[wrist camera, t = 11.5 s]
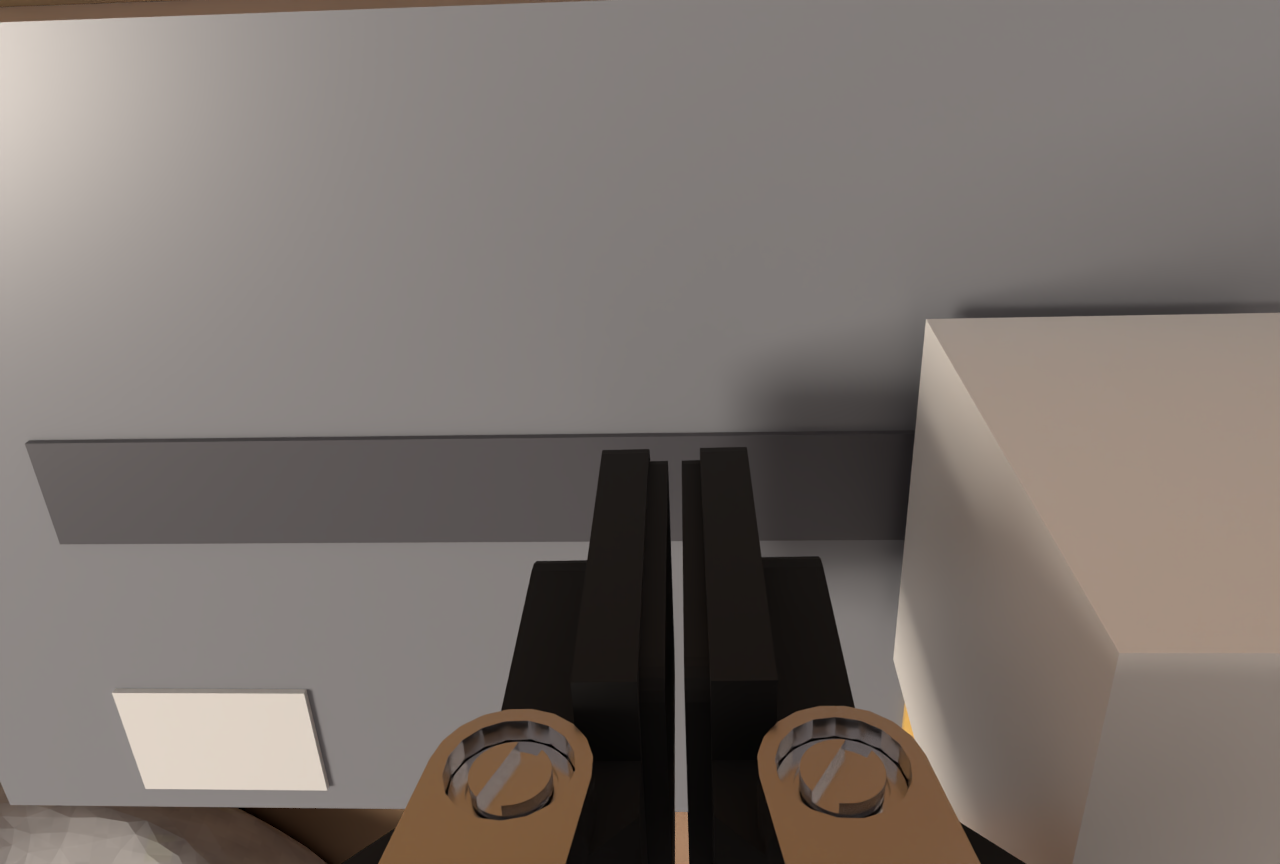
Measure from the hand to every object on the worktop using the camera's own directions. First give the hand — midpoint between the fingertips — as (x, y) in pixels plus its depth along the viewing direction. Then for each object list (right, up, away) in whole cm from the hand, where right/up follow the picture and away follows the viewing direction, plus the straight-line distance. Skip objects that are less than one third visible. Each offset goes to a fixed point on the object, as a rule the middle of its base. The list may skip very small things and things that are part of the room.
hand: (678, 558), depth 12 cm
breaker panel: (-1, +2, +4) cm, 5 cm away
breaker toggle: (+5, +1, +1) cm, 5 cm away
